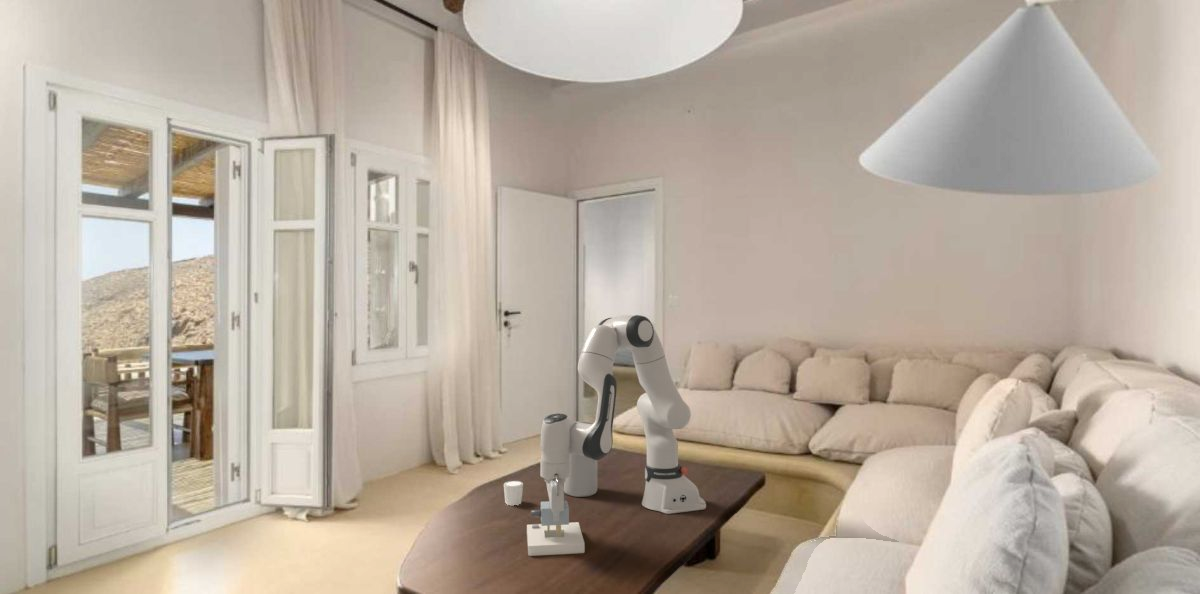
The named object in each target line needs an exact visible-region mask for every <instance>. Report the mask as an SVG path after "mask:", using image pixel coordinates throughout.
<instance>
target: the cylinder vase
mask: <svg viewBox="0 0 1200 594" xmlns="http://www.w3.org/2000/svg"><path fill="white" fill-rule="evenodd" d="M581 422H582V423H586V424H594V422H590V421H581ZM569 456H570V476H569V477H567V478H566V481H565V482H564V483H563V487H564V494H566V495H568V496H570V497H576V498H583V497H591V496H593V495H595V494H596V493H597V491H598V460H594V459H591V458H588V457H586V456H582V455H578V454H574V453H570V454H569Z"/></svg>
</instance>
